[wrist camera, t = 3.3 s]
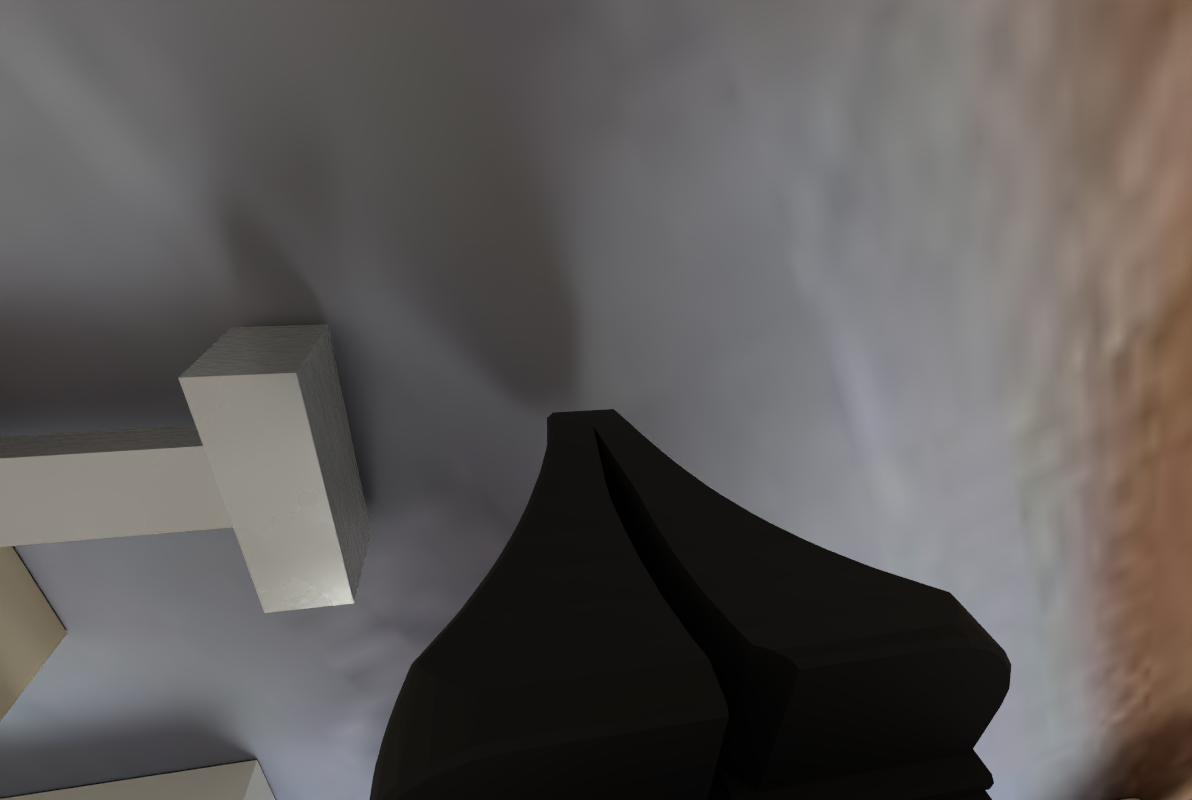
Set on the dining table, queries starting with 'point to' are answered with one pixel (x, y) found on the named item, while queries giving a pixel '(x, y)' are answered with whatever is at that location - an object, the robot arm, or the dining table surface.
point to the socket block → (22, 628)
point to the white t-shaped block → (217, 470)
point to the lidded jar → (1130, 799)
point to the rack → (175, 786)
